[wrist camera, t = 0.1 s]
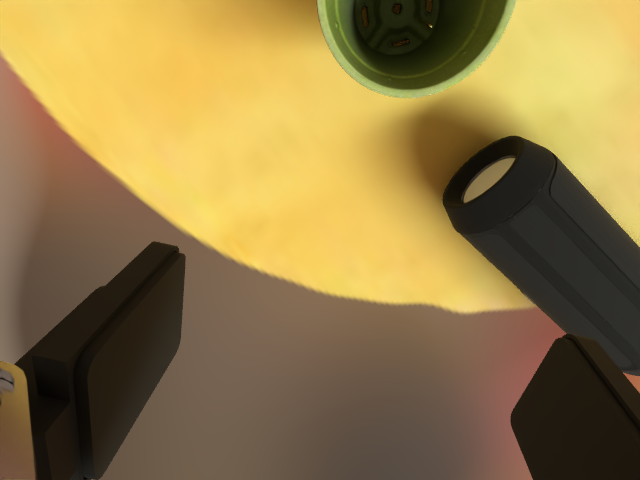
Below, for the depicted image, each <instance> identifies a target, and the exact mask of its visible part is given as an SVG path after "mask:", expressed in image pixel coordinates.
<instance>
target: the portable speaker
mask: <svg viewBox="0 0 640 480" xmlns="http://www.w3.org/2000/svg"><path fill="white" fill-rule="evenodd" d="M443 205H444V207H445V209H446V212H447V214H448V216H449V218H450V220H451V223H452V225H453V227H454V229H455V230H456V231H457V232H459V233H460V234H461V235H462V236H463V237H464V238H465V239H466V240H468V241H469V242H470V243H471V244H472V245H473V246H474V247H475V248H476V249H477V250H478V251H479V252H480V253H481V254H482V255H484V256H485V257H486V258H487V259H488V260H489V261H490V262H491V263H492V264H493V265H494V266H495V267H496V268H497V269H498V270H500V271H501V272H502V273H503V274H504V275H505V276H506V277H507V278H508V279H509V280H510V281H511V282H512V283H513V284H514V285H516V286H517V287H518V288H519V289H520V291H521V292H522V293H523V294H524V295H525V296H526V297H527V298H528V299H529V300H530V301H532V302H533V303H534V304H536V305H537V306H538V307H539V308H540V309H541V310H542V311H543V312H544V313H545V314H547V316H549V317H550V318H551V319H552V320H553V321H554V322H555V323H556V324H557V325H558V326H559V327H560V328H561V329H562V330H564V331H565V332H566V333H567V334H574V335H578V336H583V337H587V338H591V339H594V340H596V341H597V342H598V343H599V344H600V346H601V347H602V348H603V349H604V351H605V352H606V353H607V354H608V355H609V357H610V358H611V359H612V360H613V362H614V363H615V364H616V365H617V366H618V368H619V369H620V370H621V371H622V372H624V373H627V374H630V375H635V376H640V247H639V246H638V245H637V244H636V243H635V242H634V241H633V240H632V239H631V238H630V237H629V235H628V234H627V233H626V232H625V231H624V230H623V229H622V228H621V227H620V226H619V224H618V223H617V222H616V221H615V220H614V219H613V218H612V217H611V216H610V215H609V213H608V212H607V211H606V210H605V209H604V208H603V207H602V206H601V205H600V204H599V203H598V201H597V200H596V199H595V198H594V197H593V196H592V195H591V194H590V193H589V192H588V190H587V189H586V188H585V187H584V186H583V185H582V184H581V183H580V182H579V181H578V180H577V178H576V177H575V176H574V175H573V174H572V173H571V172H570V171H569V170H568V169H567V167H566V166H565V165H564V164H563V163H562V162H561V161H560V160H559V159H558V158H557V157H556V155H555V154H553V153H552V152H551V151H549V150H548V149H546V148H544V147H542V146H540V145H537V144H535V143H533V142H531V141H528V140H526V139H524V138H522V137H519V136H509V137H505V138H502V139H500V140H497V141H495V142H493V143H492V144H490V145H488V146H487V147H485V148H483V149H482V150H480V151H479V152H478V153H477V154H475V155H474V156H473V157H472V158H470V159H469V160H468V161H467V162H466V163H465V164H464V165H463V166H462V167H461V168H460V169H459V170H458V172H457V173H456V174H455V175H454V176H453V178H452V179H451V180H450V182H449V184H448V185H447V187H446V189H445V192H444V194H443Z"/></svg>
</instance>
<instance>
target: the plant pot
mask: <svg viewBox="0 0 640 480" xmlns="http://www.w3.org/2000/svg"><path fill="white" fill-rule="evenodd" d="M515 3H516V0H432V10H431V12H427V10H426V0H317V9H318V16H319V21H320V25H321V29H322V32H323V35H324V37H325V40H326V42H327V44H328V46H329V48H330V50H331V52H332V54H333V56H334V57H335V59H336V60H337V62H338V63H339V64H340V66H341V67H342V68H343V69H344V70H345V71H346V72H347V73H348V74H349V75H350V76H351V77H352V78H353V79H354V80H356V81H357V82H358V83H360V84H361V85H363V86H365V87H366V88H368V89H370V90H372V91H375V92H377V93H380V94H383V95H386V96H390V97H396V98H418V97H423V96H428V95H432V94H436V93H439V92H441V91H443V90H446V89H448V88H450V87H451V86H453V85H455V84H457V83H459V82H460V81H462V80H463V79H465V78H466V77H467V76H469V75H470V74H471V73H472V72H474V71H475V70H476V69H477V68H478V67H479V66H480V65H481V64H482V63H483V62H484V61H485V60H486V58H487V57H488V56H489V55H490V53H491V52H492V51H493V49H494V48H495V47H496V45H497V44H498V42H499V40H500V39H501V37H502V35H503V33H504V31H505V29H506V27H507V25H508V23H509V20H510V18H511V15H512V12H513V9H514V7H515ZM395 4H400V5H401V7H402V10H401V12H400V13H399V14H395V13H394V12H393V7H394V5H395ZM362 7H367V14H368V23H369V25H368V27H365V26H364V23H363V19H362ZM424 20H425V21H426V22H428V23H429V24H431V25H432V28H431V27H430V26H428V25H427V24H426V23H425V22H424ZM405 39H408V40H409V42H410V43H405V44H404V45H401V46H393V45H392V43H393V42H398V41H403V40H405Z"/></svg>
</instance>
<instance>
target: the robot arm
mask: <svg viewBox="0 0 640 480" xmlns="http://www.w3.org/2000/svg"><path fill="white" fill-rule="evenodd" d="M184 276H185V255H184V254H182V253H179V248H178V247H177V246H173V245H168V244H164V243H160V242H152V243H151V244H149V245H148V246H147V247H146V248H145V249H144V250H143V251H142V252H141V253H140V254H139V255H138V256H137V257H136V258H134V260H132V261H131V262H130V263H129V264H128V265H127V266H126V267H125V268H124V269H123V270H122V271H121V272H120V273H119V274H117V275H116V276H115V277H114V278H113V279H112V280H111V281H110V282H109V283H108V284H107V285H106V286H101V287H99V288H98V289H96V290H95V291H94V292H93V293H91V294H90V295H89V296H88V297H87V298H86V299H85V300H84V301H83V302H82V303H81V304H79V305H78V306H77V307H76V308H75V309H74V310H73V311H72V312H71V313H70V314H69V315H67V316H66V317H65V318H64V319H63V320H62V321H61V322H60V323H59V324H58V325H57V326H55V327H54V328H53V329H52V330H51V331H50V332H49V333H48V334H47V335H46V336H45V337H43V339H42V340H40V341H39V342H38V343H37V344H36V345H35V346H34V347H33V348H32V349H30V350H29V351H28V352H27V353H26V354H25V355H24V356H23V357H22V358H20V359H19V360H18V361H17V362H16V363H15V364H11V363H7V362H4V361H0V480H91V479H95V480H98V479H100V478H101V477H102V476H103V474H104V472H105V471H106V469H107V468H108V466H109V464H110V463H111V461H112V459H113V458H114V456H115V454H116V453H117V451H118V449H119V448H120V446H121V444H122V443H123V441H124V439H125V438H126V436H127V434H128V433H129V431H130V429H131V428H132V426H133V424H134V423H135V421H136V419H137V418H138V416H139V414H140V412H141V411H142V409H143V408H144V406H145V404H146V402H147V401H148V399H149V397H150V396H151V394H152V392H153V391H154V389H155V387H156V386H157V384H158V383H159V381H160V379H161V377H162V376H163V374H164V373H165V371H166V369H167V368H168V366H169V364H170V363H171V361H172V359H173V357H174V356H175V354H176V352H177V350H178V348H179V344H180V339H181V324H182V309H183V293H184V292H183V291H184ZM511 426H512V429H513V432H514V434H515V436H516V439H517V441H518V444H519V446H520V449H521V451H522V454H523V456H524V458H525V461H526V463H527V466H528V468H529V471H530V473H531V476H532V478H533V480H640V393H639V392H638V391H637V390H636V388H635V387H634V386H633V385H632V384H631V382H630V381H629V380H628V379H627V377H626V376H625V375H624V374H623V372H622V371H621V370H620V369H619V368H618V366H617V365H616V364H615V363H614V362H613V360H612V359H611V358H610V357H609V355H608V354H607V353H606V352H605V351H604V349H603V348H602V347H601V346H600V344H599V343H598V342H597V341H596V340H594V339H591V338H587V337H583V336H578V335H574V334H566V335H564V336H563V337H562V338H558V339H556V340H555V341H554V343H553V344H552V346H551V348H550V350H549V351H548V353H547V354H546V356H545V358H544V359H543V361H542V363H541V364H540V366H539V368H538V369H537V371H536V373H535V374H534V376H533V378H532V380H531V381H530V383H529V384H528V386H527V388H526V389H525V391H524V393H523V394H522V396H521V398H520V399H519V401H518V403H517V404H516V406H515V408H514V409H513V411H512V413H511Z"/></svg>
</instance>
